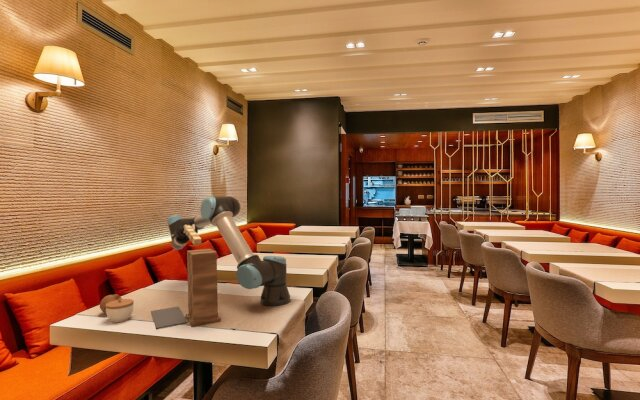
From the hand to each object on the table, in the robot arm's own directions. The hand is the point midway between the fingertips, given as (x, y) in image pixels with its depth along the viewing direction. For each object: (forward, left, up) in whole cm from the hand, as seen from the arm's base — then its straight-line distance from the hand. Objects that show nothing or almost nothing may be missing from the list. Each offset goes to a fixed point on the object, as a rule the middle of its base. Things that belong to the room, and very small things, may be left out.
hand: (190, 226), depth 168 cm
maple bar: (-2, +3, -5) cm, 6 cm away
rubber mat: (+1, +19, -39) cm, 43 cm away
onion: (+31, +17, -39) cm, 53 cm away
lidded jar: (+21, +24, -39) cm, 50 cm away
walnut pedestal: (-16, +19, -39) cm, 46 cm away
